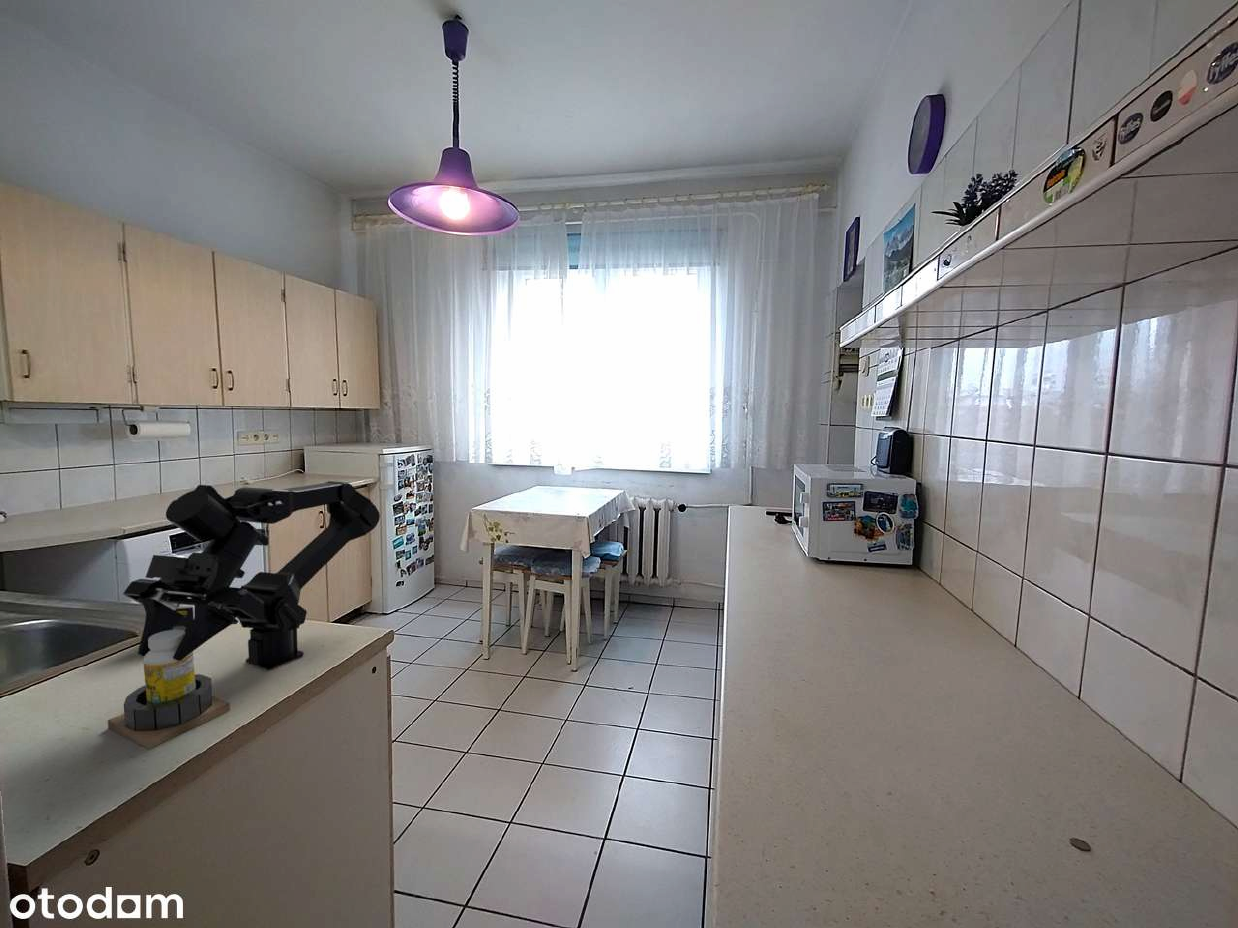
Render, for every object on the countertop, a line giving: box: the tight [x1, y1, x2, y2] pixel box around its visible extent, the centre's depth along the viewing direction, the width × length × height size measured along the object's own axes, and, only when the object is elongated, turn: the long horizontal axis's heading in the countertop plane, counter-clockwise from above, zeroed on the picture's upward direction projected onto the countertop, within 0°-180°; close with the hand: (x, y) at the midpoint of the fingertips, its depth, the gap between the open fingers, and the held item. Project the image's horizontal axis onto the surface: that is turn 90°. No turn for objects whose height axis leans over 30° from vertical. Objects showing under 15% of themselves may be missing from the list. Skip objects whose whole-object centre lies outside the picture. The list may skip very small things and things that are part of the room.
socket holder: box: [107, 673, 231, 750], centre depth 76 cm, size 10×10×4 cm
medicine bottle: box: [158, 578, 195, 634], centre depth 102 cm, size 7×7×12 cm
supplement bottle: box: [143, 630, 196, 705], centre depth 76 cm, size 5×5×10 cm
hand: (158, 657), depth 74 cm, fingers closed on supplement bottle, 5 cm apart
